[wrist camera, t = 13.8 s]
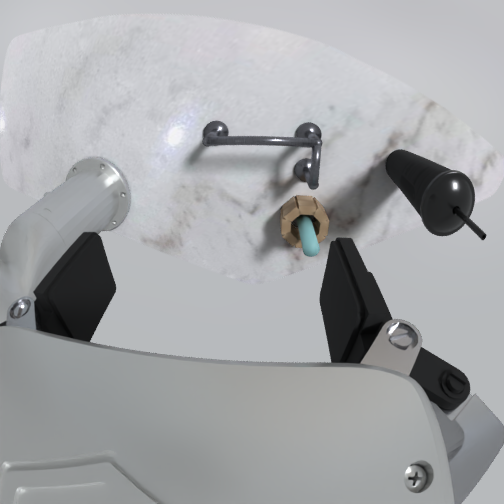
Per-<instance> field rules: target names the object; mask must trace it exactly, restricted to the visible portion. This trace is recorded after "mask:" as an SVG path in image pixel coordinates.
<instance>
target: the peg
mask: <svg viewBox="0 0 504 504" xmlns="http://www.w3.org/2000/svg"><path fill="white" fill-rule="evenodd" d="M313 219H314V215H304V214H300V215H299V216H298V217H297V218H296V219H294V220H293V222H294V223H295V224H296V225H297V226H298V229H299V233H300V238H301V243H302V248H303V252H304V254H305V255H306V256H310V257H311V256H315V255H317V254H318V252H319V250H320V248H319V244H318V241H317V237H316V234H315V231H314V228H313V224H312V221H313Z"/></svg>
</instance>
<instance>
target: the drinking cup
mask: <svg viewBox="0 0 504 504" xmlns="http://www.w3.org/2000/svg"><path fill="white" fill-rule="evenodd" d="M386 170H387V173H388V175H389V176H390V177H391V179H392V180H393V181H394V182H395V184H396V185H397V186H398V187H399V188H400V190H401V191H402V192H403V194H404V195H405V196H406V197H407V199H408V200H409V201H410V203H411V204H412V205H413V207H414V208H415V209H416V211H417V212H418V214H419V215H420V216H421V218H422V222H423V224H424V226H425V227H426V228H427V229H428V231H429V232H431V233H432V234H434V235H437V236H448V235H451V234H453V233H455V232H457V231H458V230H459V229H460V228H462V227H463V226H464V224H465V223H466V224H467V225H468V226H469V227H470V228H471V229H472V230H473V231H474V232H475V233H476V234H477V235H478V236H479V237H480V238H481V239H482V240H484V239H485V238H486V234H485V233H484V232H483V231H482V230H481V229H480V228H479V227H478V226H477V225H476V224H475V223H474V222H473V221H472V220H471V219H470V218H469V217H470V215H471V213H472V211H473V207H474V202H475V192H474V187H473V185H472V182H471V181H470V179H469V178H468V177H467V176H466V175H465V174H463V173H462V172H460V171H456V170H450V169H448V168H446V167H444V166H442V165H439V164H437V163H435V162H432V161H430V160H428V159H425V158H423V157H421V156H418V155H416V154H413V153H411V152H408V151H405V150H396V151H394V152H392V153H391V154H390V155H389V157H388V159H387V162H386Z"/></svg>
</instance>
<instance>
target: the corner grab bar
mask: <svg viewBox="0 0 504 504" xmlns="http://www.w3.org/2000/svg"><path fill="white" fill-rule="evenodd" d="M202 142H203V144H204V145H205V146H213V145H275V146H299V147H312V157H311V159H307V158H306V159H302V160H300V161H299V162H298V163H297V164H296V166H295V174H296V176H297V177H298V178H299V179H300V180H302V181H305V182H307V183H308V186H309V188H310V189H313V190H314V189H317V188H318V186H319V183H318V179H319V168H320V156H321V146H322V141H321V130H320V129H319V127H318V126H317V125H315V124H313V123H310V122H308V123H304V124H302V125H300V126H299V128H298V130H297V138H296V137H270V136H228V128H227V126H226V125H225V124H224V123H223V122H220V121H212V122H210V123H209V124H207V125H206V127H205V129H204V138H203V141H202Z"/></svg>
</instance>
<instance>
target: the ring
mask: <svg viewBox="0 0 504 504" xmlns="http://www.w3.org/2000/svg"><path fill="white" fill-rule="evenodd" d="M300 214H304V215H314V216H315V222H314V223H312V224H313V228H314V231H315V234H316V237H317V241H318V244H319V243H320V242H321V241H322V240H324V239H325V238H326V237H325V236H327V234H328V228H329V219H328V216H327V214H326V212H325V209H324V207H323V206H322V205H321V204H320V203H319V202H318V201H317V200H316V199H315V197H314V198H312V196H299V195H296V198H295V197H294V196H293V197H292V198H291V199H290V200H289V201H287V202H286V203H285V204H284V205H283V206H282V208H281V215H280V226H281V234H282V237H283V238H284V239H285V240H286V241H287V242H288V243H289V244H291V245H292V246H294V245H295V248H302V243H301V238H300V233H299V229H298V228H295V227H294V226H293V225H292V224H291V222H292V221H293V220H294V219H296V218H297V217H298V216H299V215H300Z"/></svg>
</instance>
